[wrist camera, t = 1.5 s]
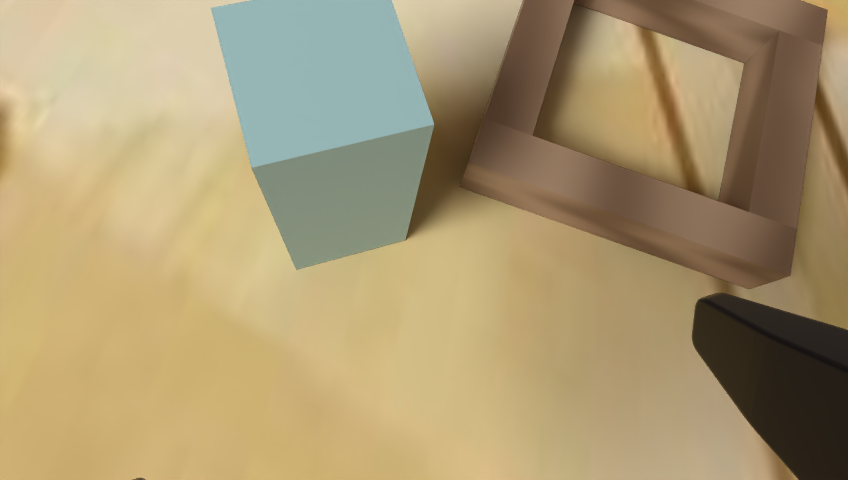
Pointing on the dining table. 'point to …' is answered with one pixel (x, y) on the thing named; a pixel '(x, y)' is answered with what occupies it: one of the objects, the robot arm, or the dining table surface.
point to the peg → (328, 119)
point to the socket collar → (647, 197)
